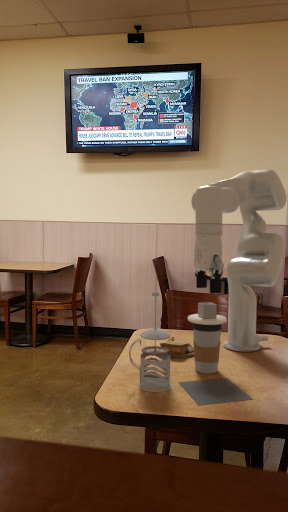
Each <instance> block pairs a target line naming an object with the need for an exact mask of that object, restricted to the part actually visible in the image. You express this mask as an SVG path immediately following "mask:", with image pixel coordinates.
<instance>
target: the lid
mask: <svg viewBox="0 0 288 512" xmlns="http://www.w3.org/2000/svg"><path fill="white" fill-rule="evenodd" d="M217 306H218V305H217V304H216V303H213V302H212V301H211V302H209V301H208V302H198V303H197V313H193V314H190V315H188V316H187V321H188V322H189V323H192V324H193V323H196V324H203V325H218V324H221V325H222V324H223V325H224V324H226V323H228V320H227V319H228V317H226V316H224V315H222V314H217V311H218V310H217Z"/></svg>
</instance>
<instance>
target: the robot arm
mask: <svg viewBox="0 0 288 512" xmlns="http://www.w3.org/2000/svg"><path fill="white" fill-rule="evenodd" d="M280 178H281V177H279V175H278V174H277V172H276V171H274V170H273V169H270V168H265V169H256V170H255V169H254V170H245V171H242V172H240V173H238V174H236V175H234V176H233V177H231V178H227V179H223V180H220V181H217V182H212V183H209V184H207V185H206V184H205V185H202V186H199V187H197V189H196V190H195V191H194V193H192V196H191V200H190V201H191V207H192V210H194V212H195V225H194V226H195V228H194V230H195V232H194V233H195V240H194V241H195V242H194V250H193V251H194V252H193V266H194V268H195V269H196V270H195V275H196V276H195V277H196V278H195V279H196V280H195V281H196V283H195V285H196V286H195V287H196V288H197V289H206V288H208V274H207V272H209V275H210V278H209V293H210V294H221V293H222V279H223V275H224V274H223V273H224V267H225V264H224V262H223V245H222V236H223V214H231V213H234V212H235V211H237V210H240V215H241V218H242V228H241V231H240V236H239V239H238V242H237V249H236V250H237V254H238V256H239V257H234V258H232V259H230V260H229V261H228V262H227V264H226V267H225V268H226V277H227V278H226V279H227V284H228V285H227V286H228V313H227V314H228V316H227V319H228V320H227V323H228V324H227V339H226V340H224V341H222V342H223V343H222V345H223V347H224V348H225V349H227V350H231V351H235V352H242V353H243V352H244V353H245V352H256V351H258V350H260V348H261V344H260V342H268V341H269V336H268V335H261V334H257V332H256V331H257V304H258V303H257V301H258V300H257V296H256V294H255V291H254V290H253V288H252V287H251V286H255V287H265V288H266V287H273V286H275V285H277V283H278V280H279V276H280V271H281V267H282V260H283V256H284V249H285V243H284V238H283V237H282V236H281V234H280V233H279V234H278V233H276V232H266V231H267V228H268V227H267V223H266V221H265V219H264V218H263V217H262V215H260V214H259V213H258V211H262V212H263V211H280V210H282V209H283V208H284V207H285V206H286V204H287V192H286V189H285V187H284V184H283V183H282V181H281V179H280Z"/></svg>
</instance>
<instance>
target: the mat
mask: <svg viewBox="0 0 288 512" xmlns="http://www.w3.org/2000/svg"><path fill="white" fill-rule="evenodd" d="M178 384H179V385H180V387H181V388H183V390H185V392H186V393H187V394H188V396H189V397H190V398H191V399H192V400H193V401H194V402H195V404H197V406H205V405H215V404H225V403H226V404H227V403H232V402H242V401H243V402H244V401H251V400H254V398H253V397H251V396H250V395H249V394H248V393H247V392H245V391H244V390H243V389H242V388H241V387H239V386H238V385H236V384H235V383H234V382H233V381H231V380H230V379H229V378H228V377H221V378H220V377H219V378H210V379H200V380H199V379H198V380H188V381H178Z"/></svg>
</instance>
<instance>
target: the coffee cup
mask: <svg viewBox="0 0 288 512" xmlns="http://www.w3.org/2000/svg"><path fill="white" fill-rule="evenodd" d="M192 329H193V330H192V332H193V338H192V339H193V347H194V355H193V356H194V368H195V369H194V370H195V371H196V372H198V373H200V374H206V375H207V374H209V375H210V374H215V373H217V372H218V369H219V362H220V361H219V360H220V351H221V349H220V348H221V334H222V333H221V332H222V324H218V325H203V324H196V323H192Z"/></svg>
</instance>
